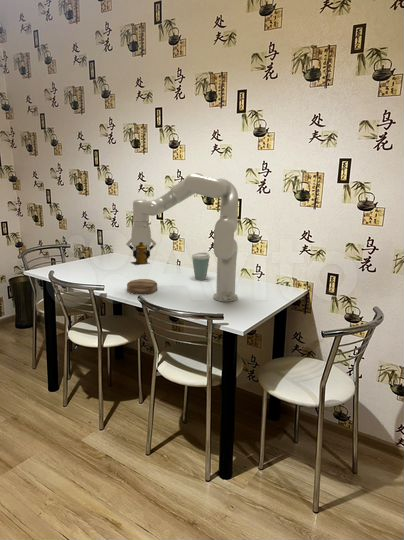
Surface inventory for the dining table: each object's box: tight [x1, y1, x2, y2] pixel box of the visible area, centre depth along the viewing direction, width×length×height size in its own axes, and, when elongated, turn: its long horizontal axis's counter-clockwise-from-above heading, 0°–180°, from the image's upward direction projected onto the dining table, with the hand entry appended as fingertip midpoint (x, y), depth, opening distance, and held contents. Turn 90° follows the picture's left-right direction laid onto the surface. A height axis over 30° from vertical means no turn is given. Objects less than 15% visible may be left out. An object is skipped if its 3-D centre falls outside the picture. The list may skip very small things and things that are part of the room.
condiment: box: [129, 242, 151, 266], centre depth 225 cm, size 7×8×12 cm
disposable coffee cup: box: [191, 252, 211, 281], centre depth 252 cm, size 11×11×15 cm
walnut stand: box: [126, 278, 158, 295], centre depth 230 cm, size 16×16×4 cm
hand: (141, 257), depth 226 cm, fingers closed on condiment, 6 cm apart
